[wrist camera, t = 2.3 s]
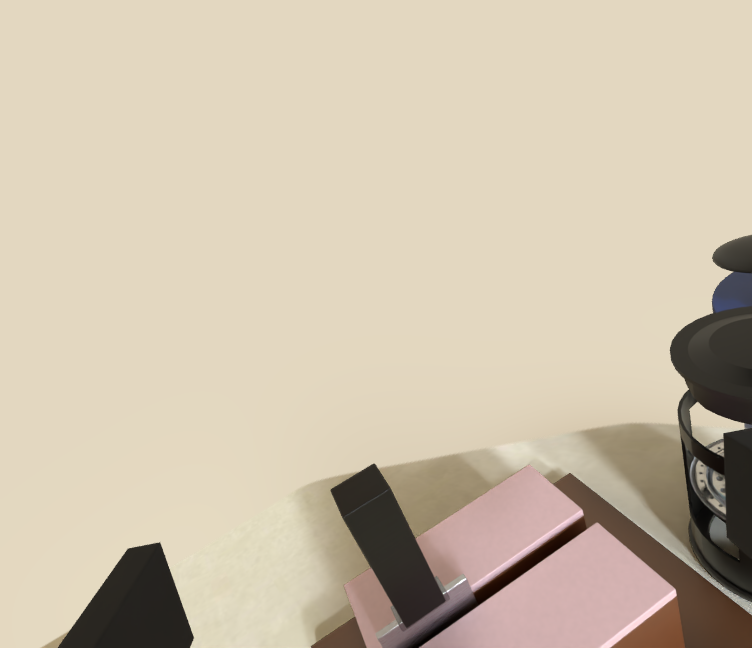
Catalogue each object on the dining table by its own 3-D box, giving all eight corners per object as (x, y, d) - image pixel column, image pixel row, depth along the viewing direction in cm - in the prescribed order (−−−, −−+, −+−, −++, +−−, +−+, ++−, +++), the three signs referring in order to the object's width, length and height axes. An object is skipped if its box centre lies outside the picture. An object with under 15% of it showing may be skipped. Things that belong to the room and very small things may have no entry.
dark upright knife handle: (493, 644, 32) (402, 445, 24) (512, 675, 30) (420, 469, 22) (419, 699, 31) (299, 507, 23) (434, 734, 29) (309, 537, 21)
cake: (548, 525, 38) (529, 463, 35) (687, 661, 27) (676, 589, 25) (379, 642, 35) (343, 584, 32) (461, 847, 24) (418, 788, 21)
